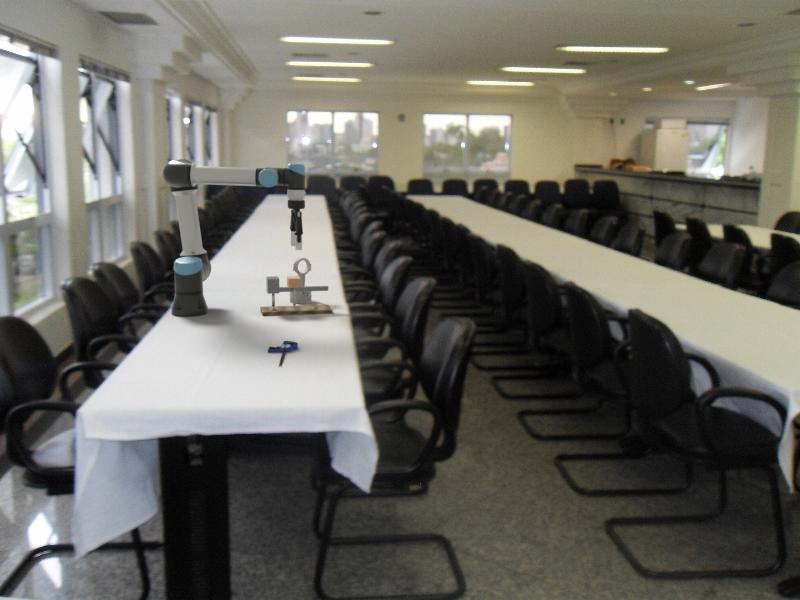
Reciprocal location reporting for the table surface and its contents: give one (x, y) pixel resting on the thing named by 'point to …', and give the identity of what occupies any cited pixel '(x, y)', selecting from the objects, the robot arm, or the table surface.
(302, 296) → the engine component
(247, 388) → the table surface
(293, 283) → the block
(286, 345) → the bar clamp
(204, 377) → the table surface
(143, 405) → the table surface
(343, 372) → the table surface
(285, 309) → the hole plate
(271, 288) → the grey piece
